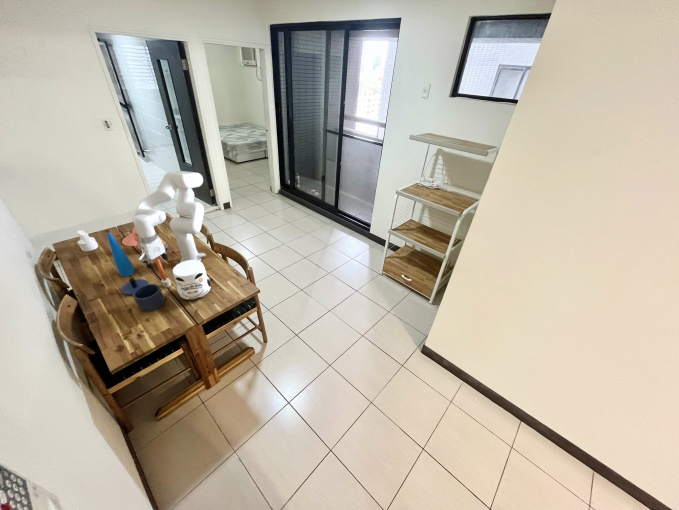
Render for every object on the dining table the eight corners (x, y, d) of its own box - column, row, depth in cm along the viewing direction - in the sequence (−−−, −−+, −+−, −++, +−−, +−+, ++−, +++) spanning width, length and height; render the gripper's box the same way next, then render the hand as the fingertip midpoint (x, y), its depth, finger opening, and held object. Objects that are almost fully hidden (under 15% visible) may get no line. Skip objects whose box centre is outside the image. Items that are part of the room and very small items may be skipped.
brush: (171, 282, 165) (161, 256, 155) (171, 286, 162) (161, 260, 151) (163, 283, 164) (152, 258, 153) (162, 288, 160) (152, 262, 150)
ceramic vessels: (118, 237, 202) (107, 214, 192) (150, 228, 215) (142, 206, 205) (132, 257, 183) (121, 233, 172) (166, 246, 196) (158, 223, 185)
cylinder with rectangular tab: (100, 247, 191) (92, 232, 184) (85, 252, 185) (76, 237, 178) (94, 243, 195) (86, 228, 188) (79, 248, 188) (70, 233, 182)
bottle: (126, 277, 166) (105, 234, 149) (117, 274, 168) (96, 231, 151) (137, 271, 172) (118, 228, 155) (128, 268, 174) (109, 225, 157)
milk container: (191, 307, 149) (182, 281, 139) (173, 294, 157) (163, 269, 147) (218, 289, 162) (212, 265, 152) (200, 279, 169) (192, 255, 159)
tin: (153, 294, 156) (147, 281, 151) (169, 299, 153) (164, 287, 148) (133, 308, 147) (127, 295, 141) (151, 314, 144) (145, 301, 139)
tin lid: (137, 278, 166) (133, 270, 162) (154, 284, 163) (150, 275, 159) (116, 292, 156) (112, 283, 152) (134, 298, 153) (129, 289, 149)
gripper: (139, 247, 136) (150, 274, 146) (167, 231, 150) (175, 257, 160) (127, 243, 138) (139, 270, 148) (156, 229, 152) (165, 254, 161)
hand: (158, 263), depth 154 cm, fingers open, 9 cm apart
